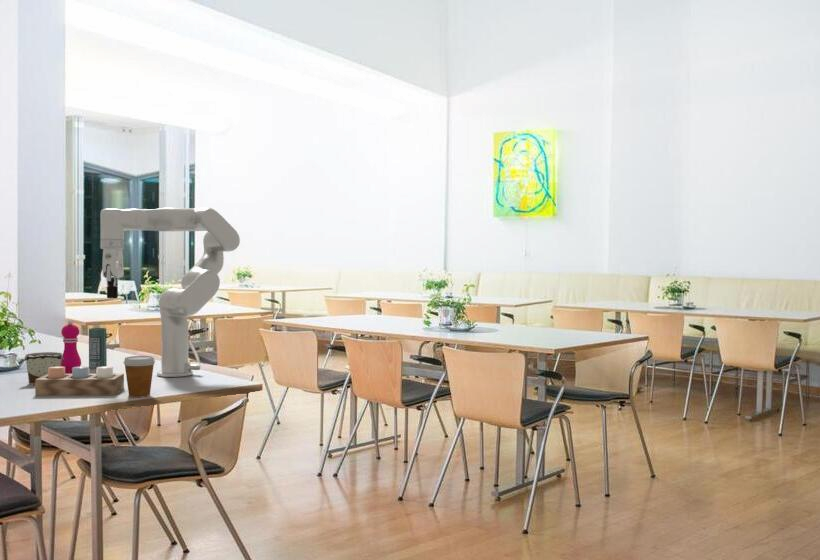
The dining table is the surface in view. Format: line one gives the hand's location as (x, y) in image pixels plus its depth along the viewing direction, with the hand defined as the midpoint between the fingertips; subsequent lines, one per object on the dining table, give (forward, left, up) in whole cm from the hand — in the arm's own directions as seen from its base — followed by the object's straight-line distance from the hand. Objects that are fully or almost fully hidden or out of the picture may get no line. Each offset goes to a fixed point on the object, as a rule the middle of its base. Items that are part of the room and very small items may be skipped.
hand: (112, 298), depth 283 cm
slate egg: (+5, +19, -28) cm, 34 cm away
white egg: (-3, +19, -28) cm, 34 cm away
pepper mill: (+19, -16, -29) cm, 38 cm away
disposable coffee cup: (-15, +26, -29) cm, 42 cm away
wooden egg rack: (+5, +19, -29) cm, 35 cm away
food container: (+23, -1, -29) cm, 37 cm away
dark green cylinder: (+15, -36, -29) cm, 49 cm away
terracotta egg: (+12, +19, -28) cm, 36 cm away
